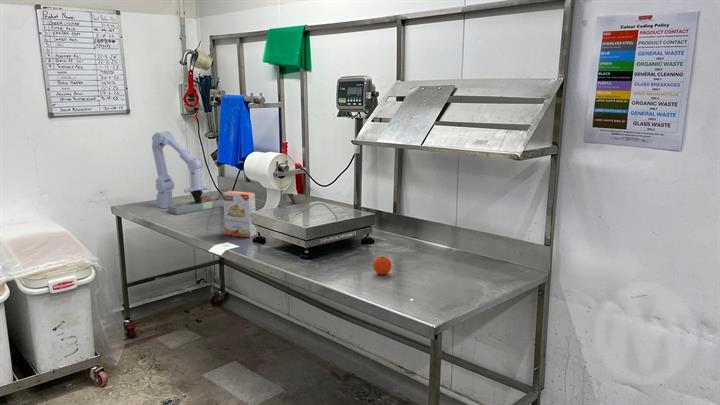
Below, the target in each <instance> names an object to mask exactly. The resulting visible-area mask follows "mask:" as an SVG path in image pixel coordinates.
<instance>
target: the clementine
mask: <svg viewBox="0 0 720 405" xmlns="http://www.w3.org/2000/svg"><path fill="white" fill-rule="evenodd" d="M372 267H373V268H372V269H373V270H374V272H375V273H377V274H378V275H380V276H381V275H382V276H383V275H387V274H389V272H391V270H392V261H391V259H390V258H388V257H387V256H385V255H379V256H378V257H376V258H375V259H374V260H373V263H372Z"/></svg>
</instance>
